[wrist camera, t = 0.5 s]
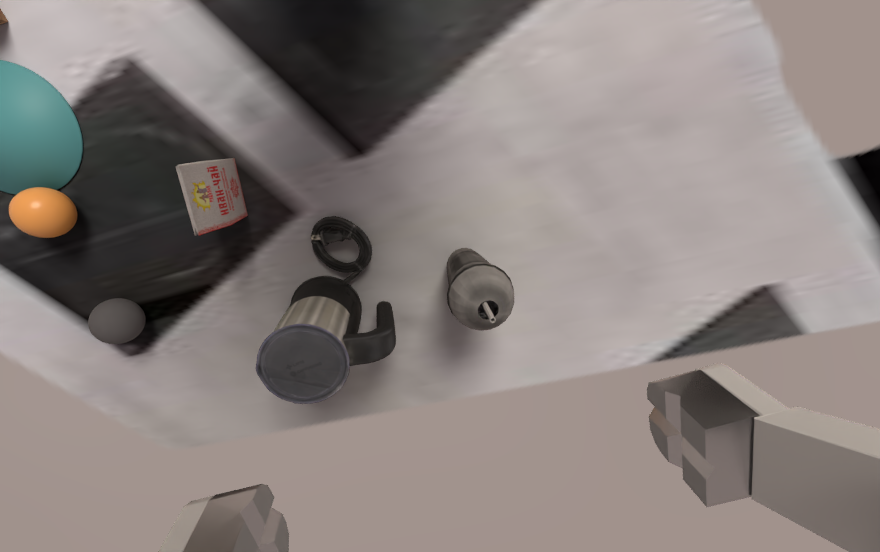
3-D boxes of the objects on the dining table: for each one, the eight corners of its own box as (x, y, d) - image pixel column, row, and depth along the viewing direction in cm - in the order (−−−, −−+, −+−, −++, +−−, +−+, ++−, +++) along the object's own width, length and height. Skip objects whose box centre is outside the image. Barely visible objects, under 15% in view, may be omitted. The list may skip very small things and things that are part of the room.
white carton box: (216, 218, 51) (177, 237, 42) (201, 161, 49) (156, 167, 40) (247, 215, 52) (215, 234, 42) (234, 158, 49) (197, 164, 40)
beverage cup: (453, 299, 58) (482, 380, 39) (426, 256, 55) (443, 319, 37) (500, 272, 57) (552, 341, 38) (474, 227, 55) (516, 277, 36)
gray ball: (98, 300, 53) (66, 318, 48) (139, 285, 53) (111, 302, 48) (123, 337, 55) (95, 358, 50) (163, 323, 55) (138, 343, 50)
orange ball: (25, 193, 48) (-19, 201, 43) (70, 177, 48) (31, 183, 43) (55, 238, 50) (16, 250, 45) (99, 222, 50) (65, 233, 45)
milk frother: (309, 349, 58) (283, 418, 44) (251, 246, 53) (199, 287, 39) (405, 310, 58) (409, 367, 44) (355, 203, 52) (342, 229, 38)
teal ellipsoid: (-97, 85, 44) (-99, 85, 44) (30, 39, 44) (28, 39, 43) (-5, 212, 48) (-7, 212, 48) (109, 171, 48) (108, 171, 48)
